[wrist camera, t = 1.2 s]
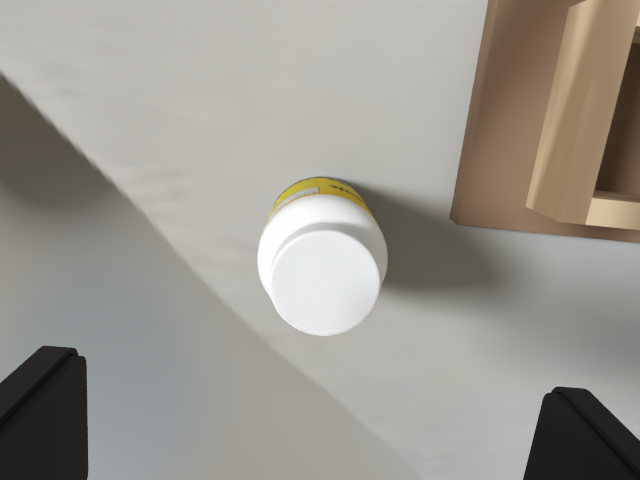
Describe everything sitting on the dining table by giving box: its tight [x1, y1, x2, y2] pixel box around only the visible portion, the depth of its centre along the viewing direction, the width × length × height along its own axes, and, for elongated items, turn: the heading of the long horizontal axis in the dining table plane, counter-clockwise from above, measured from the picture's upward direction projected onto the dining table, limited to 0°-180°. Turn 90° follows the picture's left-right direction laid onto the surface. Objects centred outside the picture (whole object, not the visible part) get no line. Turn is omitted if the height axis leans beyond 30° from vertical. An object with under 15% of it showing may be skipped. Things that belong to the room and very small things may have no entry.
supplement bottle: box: [257, 176, 388, 336], centre depth 22 cm, size 5×5×10 cm
